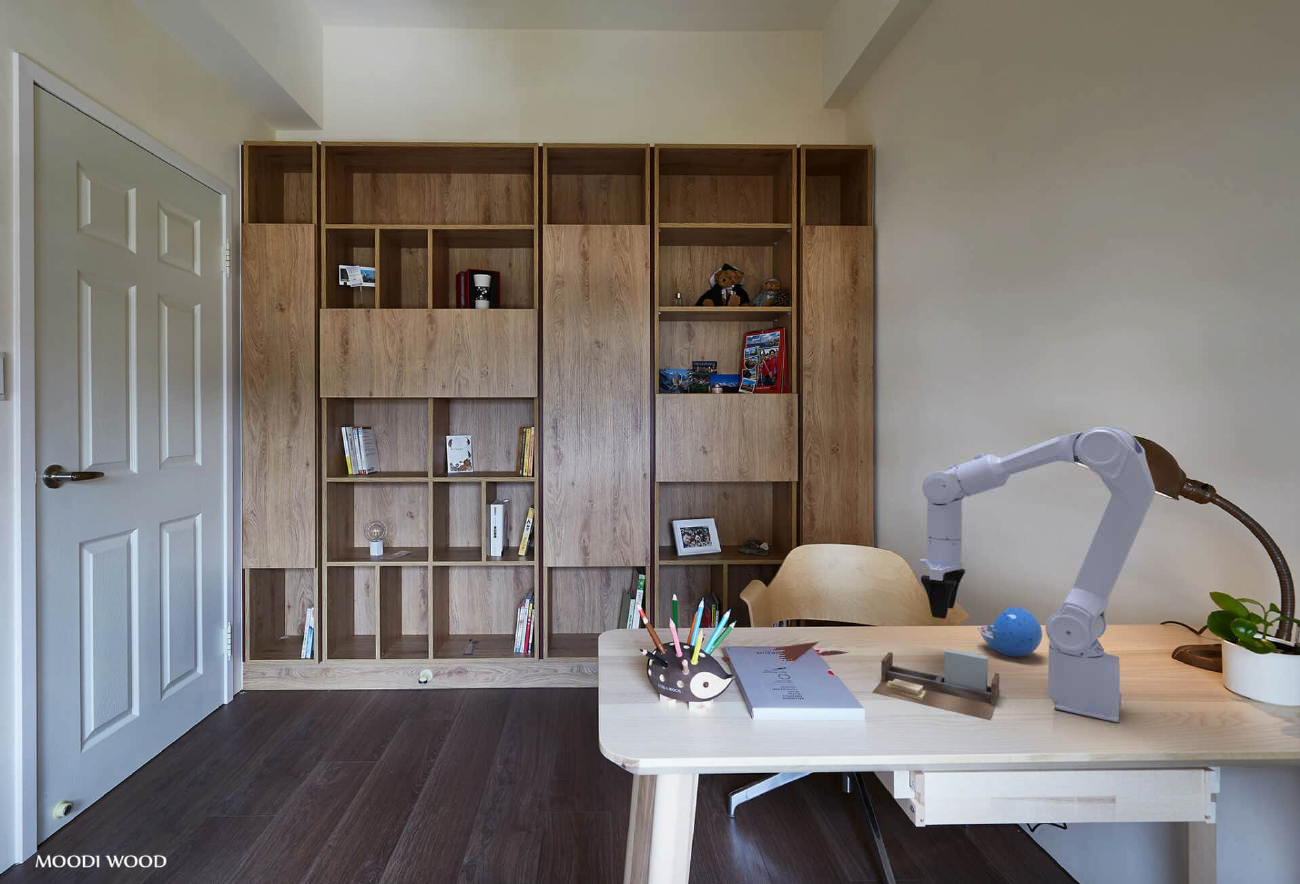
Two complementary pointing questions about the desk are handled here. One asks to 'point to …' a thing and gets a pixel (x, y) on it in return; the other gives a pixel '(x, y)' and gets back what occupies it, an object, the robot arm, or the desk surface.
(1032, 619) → the cell model
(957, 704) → the board with sliding block
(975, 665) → the slate board
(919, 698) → the offcut stack
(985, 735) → the desk surface
